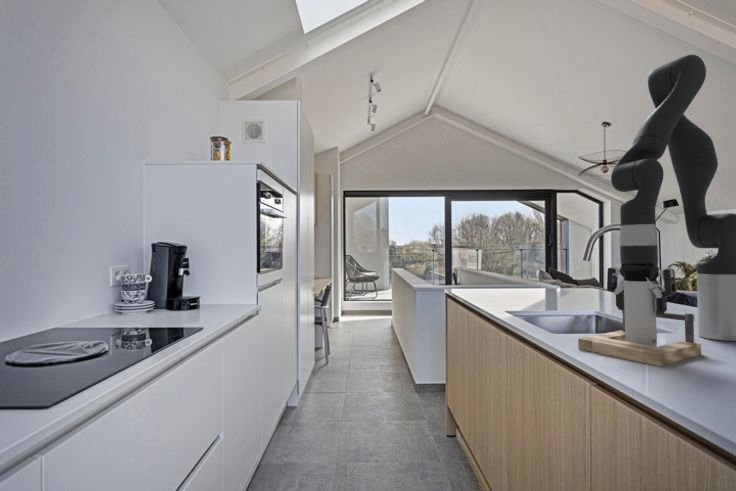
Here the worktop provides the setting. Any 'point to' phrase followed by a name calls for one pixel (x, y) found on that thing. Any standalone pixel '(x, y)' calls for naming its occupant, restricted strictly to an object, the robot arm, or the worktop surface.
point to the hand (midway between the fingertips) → (640, 311)
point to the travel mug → (639, 309)
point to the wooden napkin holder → (643, 353)
